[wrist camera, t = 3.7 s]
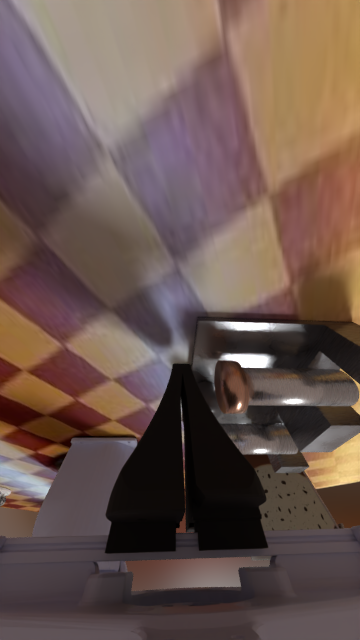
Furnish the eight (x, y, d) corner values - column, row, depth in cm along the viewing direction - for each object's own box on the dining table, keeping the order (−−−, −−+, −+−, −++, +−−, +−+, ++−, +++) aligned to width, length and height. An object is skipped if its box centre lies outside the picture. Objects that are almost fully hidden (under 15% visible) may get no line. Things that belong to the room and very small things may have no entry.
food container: (223, 461, 28) (243, 560, 20) (222, 449, 25) (246, 560, 17) (288, 456, 28) (338, 557, 19) (296, 442, 24) (361, 556, 16)
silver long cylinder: (200, 426, 18) (205, 467, 15) (204, 411, 16) (210, 453, 13) (272, 427, 18) (292, 466, 15) (284, 411, 16) (309, 452, 13)
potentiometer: (190, 396, 16) (194, 447, 12) (192, 381, 15) (198, 432, 11) (213, 396, 16) (224, 446, 12) (217, 382, 15) (231, 432, 11)
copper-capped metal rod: (212, 379, 13) (222, 423, 10) (219, 350, 12) (235, 393, 8) (308, 381, 14) (346, 424, 11) (330, 353, 12) (383, 395, 9)
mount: (184, 422, 20) (186, 473, 16) (197, 317, 12) (210, 366, 7) (274, 423, 21) (300, 472, 16) (352, 322, 12) (450, 371, 8)
